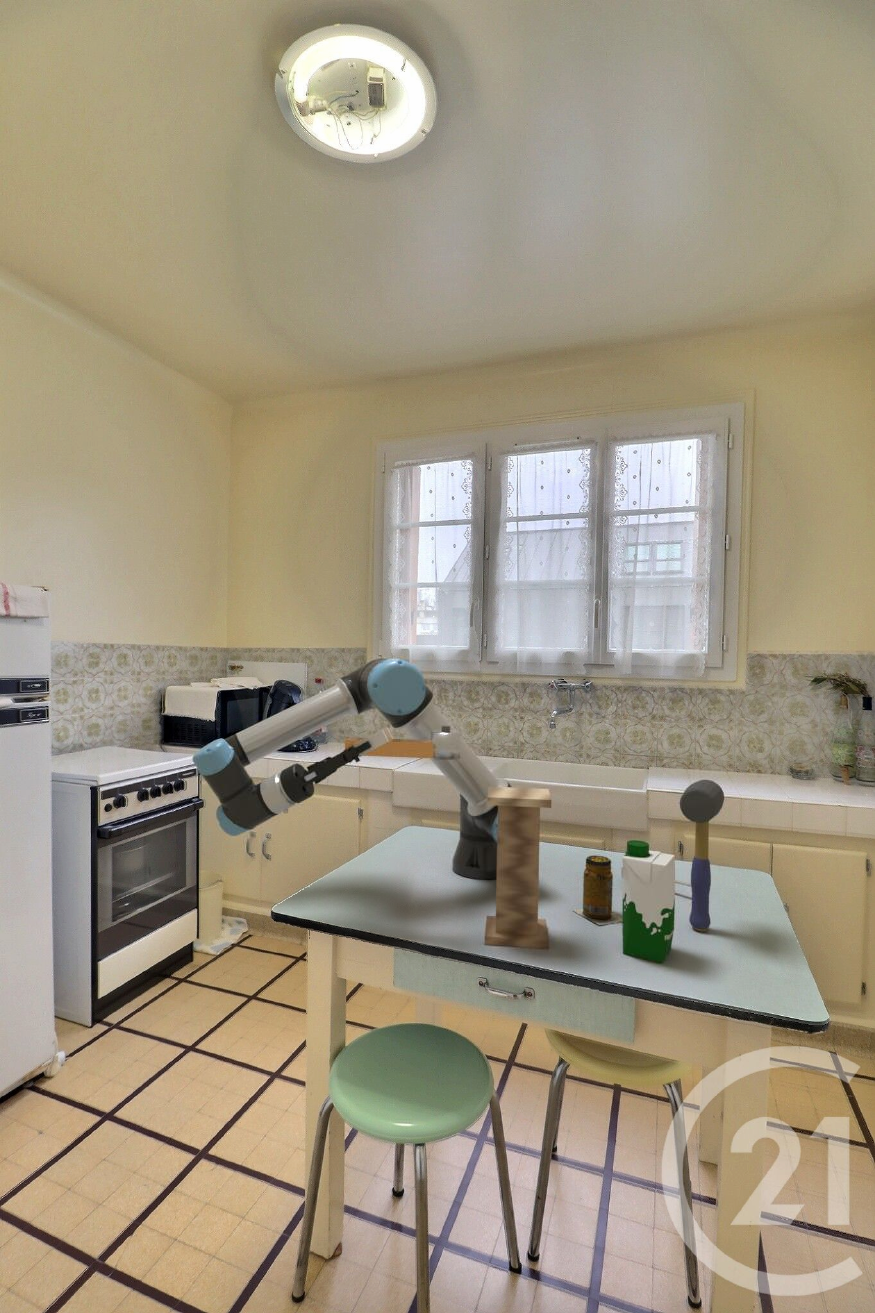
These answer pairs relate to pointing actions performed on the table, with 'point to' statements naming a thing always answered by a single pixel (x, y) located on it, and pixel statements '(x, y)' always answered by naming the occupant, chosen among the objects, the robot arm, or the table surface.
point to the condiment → (598, 891)
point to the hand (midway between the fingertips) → (387, 734)
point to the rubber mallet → (701, 844)
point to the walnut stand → (517, 868)
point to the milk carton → (648, 902)
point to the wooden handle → (419, 746)
